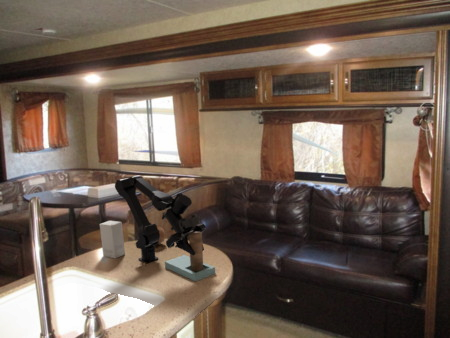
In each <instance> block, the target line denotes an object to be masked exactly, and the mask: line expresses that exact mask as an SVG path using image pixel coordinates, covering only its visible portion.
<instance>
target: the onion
mask: <svg viewBox="0 0 450 338" xmlns="http://www.w3.org/2000/svg"><path fill="white" fill-rule="evenodd" d="M156 226H157V228H158V230H159V231H160V232H159V233H160V238H159V242H158V244H156V245H155V246H158V245H161V243H164V242H165V238H166V233H165V230H164V229H163V228H162V226H161V227H160V225H157V224H156Z"/></svg>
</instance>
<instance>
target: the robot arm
mask: <svg viewBox="0 0 450 338" xmlns="http://www.w3.org/2000/svg"><path fill="white" fill-rule="evenodd" d="M114 188H115V190H116V192H117V193H118V195H119V196H120V197H122V198H123V199H124V200H125V201H126V204H127V205H128V208H129V209H130V212H131V214H132V216H133V218H134V220H135V222H136V224H137V226H138V234H137V235H138V240H137V241H136V242H135V247H136V248H137V249H139V250H140V251H141V252H140V254H141V257H138V260H139V261H141V262H143V263H144V264H147V263H151V262H153V261H154V262H155V261H156V260H159V257H157V256H156V249H155V246H157V245H158V242H159V238H160V233H159V232H160V231H159V230H158V228H157V226H158V225H157V224H156V223H151V222H150V221H149V218H148V217H147V214H146V213H145V210H144V209H143V207H142V205H141V201H140V200H139V198H138V196H137V190H139V191H140V192H141V193H142V194H143V195H144V196H146V197H147V198H148V199H149V200H150V201H151V204H152V206H153V207H154V208H155V209H156V211H158V212H160V211H161V212H162V216H161V220H167V222H168V223H169V224H170V226H171V228H170V230H171V231H174V232H175V233H173V234H171V235H170V236H169V237H168V238H167V240H166V242H165V246H166V247H167V248H168V249H171V248H173V247H175V248H178V249H180V250H183V251H184V252H186V253H187V254H189V255H190V254H191V255H195V252H194V250H193V249H192V247H191V246H190V244H189V241H188V240H189V233H191V232H201V233H202V234H203V232H204V231H205V230H207V226H206V224H205V223H200V222H201V216H200V215H199V214H198V213H196V214H193V215H191V217H190V218H187V217H184V216H183V215H184V214H185V213H186V212H187V210H188V209H189V208H190V207H191V205H192V199H191V198H190V197H189V196H187V195H185V194H183V192H179V193H177V194H176V196H175V198H174V197H173V196H172V195H170V194H169V193H168V192H163V191H160V190H159V189H157V188H156V187H155V186H153V185H152V184H151V183H149V182H148V181H147V180H146V179H144V178H143V176H142V175H138V174H137V175H133V176H131V177H126V178H122V179H121V178H120V179H117V180H116V181H115V184H114ZM163 211H164V212H163ZM156 225H157V226H156ZM156 244H157V245H156ZM175 244H176V245H175ZM202 247H203V251H205V248H204V243H202Z"/></svg>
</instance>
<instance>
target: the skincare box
mask: <svg viewBox="0 0 450 338" xmlns="http://www.w3.org/2000/svg"><path fill="white" fill-rule="evenodd" d="M99 233H100V238H101V239H100V240H101V247H102V254H103V255H102V256H103V257H106V258H110V259H115V260H116V259H118V258H120V257H122V256H124V255H126V250H125V249H126V248H125V240H124V231H123V223H122V221H116V220H107V221H105V222H102V223H99Z"/></svg>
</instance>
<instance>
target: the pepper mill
mask: <svg viewBox="0 0 450 338" xmlns="http://www.w3.org/2000/svg"><path fill="white" fill-rule="evenodd" d="M188 240H189V241H188V243H189V244H190V246H191V247H192V249H193V250H194V252H195V255H191V254H190V253H189V257H190V266H191V271H193V272H195V273H197V272H199V271H202V270H203V263H204V253H203V251H204V250H203V247H204V246H203V247H202V244H203V232H202V233H201V232H191V233H189V237H188Z"/></svg>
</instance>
